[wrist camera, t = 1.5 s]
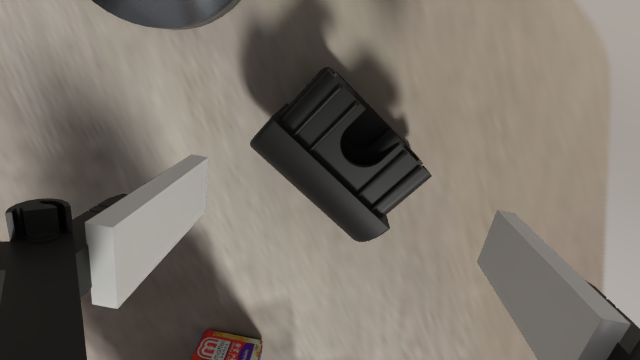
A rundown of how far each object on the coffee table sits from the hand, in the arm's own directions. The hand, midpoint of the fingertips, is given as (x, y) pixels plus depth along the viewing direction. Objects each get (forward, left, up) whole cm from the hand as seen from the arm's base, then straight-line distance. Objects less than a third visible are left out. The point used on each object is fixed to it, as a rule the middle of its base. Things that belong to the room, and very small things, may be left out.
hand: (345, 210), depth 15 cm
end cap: (0, 0, -12) cm, 12 cm away
